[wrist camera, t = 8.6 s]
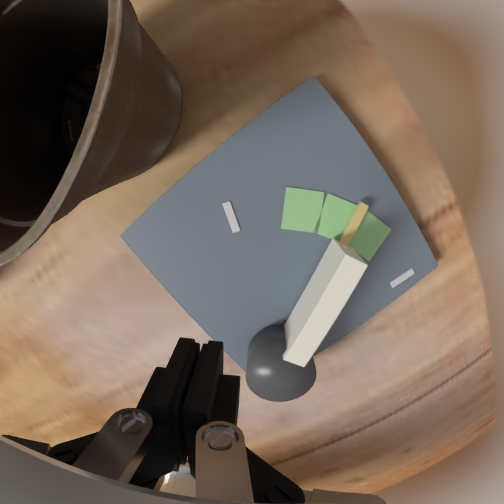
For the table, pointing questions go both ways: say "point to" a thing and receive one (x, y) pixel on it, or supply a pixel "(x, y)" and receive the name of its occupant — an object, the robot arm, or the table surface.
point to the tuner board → (279, 224)
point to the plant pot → (75, 109)
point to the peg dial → (306, 323)
